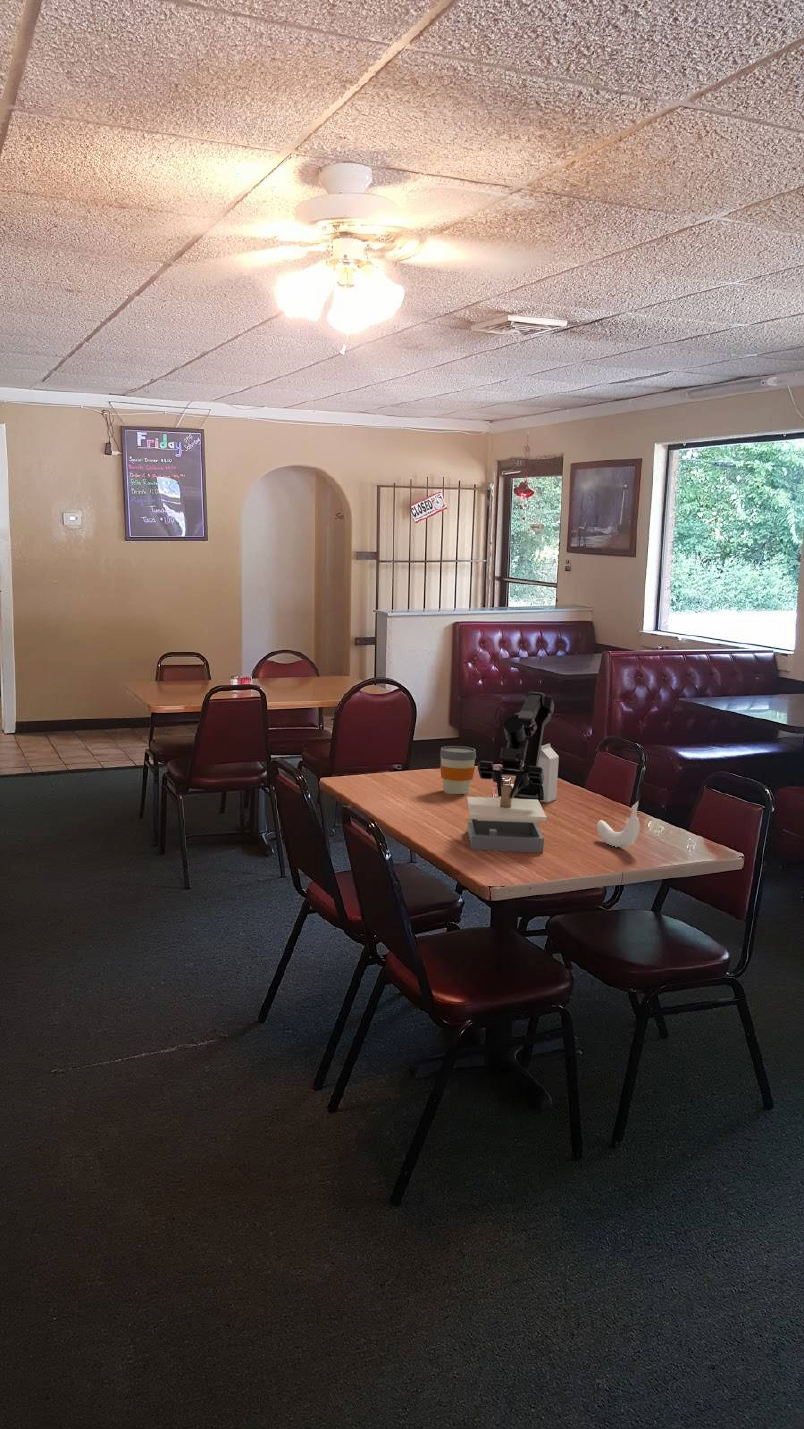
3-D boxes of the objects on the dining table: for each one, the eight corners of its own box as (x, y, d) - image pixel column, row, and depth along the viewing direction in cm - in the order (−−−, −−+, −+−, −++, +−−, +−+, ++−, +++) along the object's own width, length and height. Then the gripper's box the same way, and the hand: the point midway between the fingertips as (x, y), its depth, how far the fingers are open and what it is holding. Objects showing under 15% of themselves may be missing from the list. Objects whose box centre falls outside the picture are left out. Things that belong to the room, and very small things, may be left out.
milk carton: (556, 799, 365) (559, 744, 362) (547, 803, 359) (551, 747, 356) (537, 796, 368) (540, 742, 366) (528, 799, 362) (531, 744, 360)
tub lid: (537, 806, 317) (539, 779, 316) (546, 824, 297) (548, 796, 295) (466, 803, 318) (468, 776, 316) (470, 821, 297) (472, 793, 295)
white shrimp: (601, 837, 318) (604, 788, 315) (643, 854, 301) (647, 803, 299) (587, 838, 315) (591, 790, 313) (629, 855, 299) (633, 804, 297)
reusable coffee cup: (440, 786, 377) (442, 745, 375) (475, 789, 376) (477, 747, 374) (436, 794, 365) (438, 751, 363) (473, 797, 364) (475, 753, 361)
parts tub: (534, 833, 318) (535, 820, 317) (543, 852, 298) (543, 838, 298) (467, 831, 318) (468, 818, 317) (471, 849, 298) (472, 835, 298)
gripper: (480, 733, 310) (469, 778, 302) (544, 739, 304) (534, 785, 296) (486, 755, 319) (474, 799, 310) (548, 761, 313) (538, 806, 304)
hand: (505, 797), depth 305 cm, fingers closed on tub lid, 3 cm apart
